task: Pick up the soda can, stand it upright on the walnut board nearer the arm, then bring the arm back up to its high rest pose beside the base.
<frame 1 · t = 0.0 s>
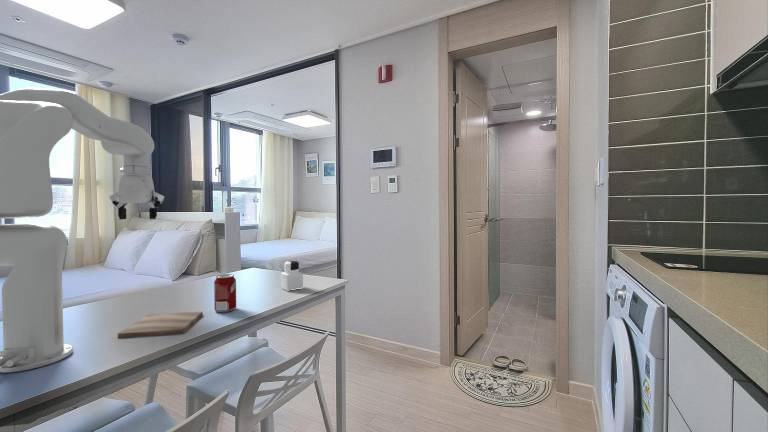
hand: (137, 219, 119), 31 cm above the table, tool pointing down, fingers open, 9 cm apart
walnut board: (164, 325, 98), on the table
medicine bottle: (291, 289, 142), on the table
soda can: (225, 310, 113), on the table
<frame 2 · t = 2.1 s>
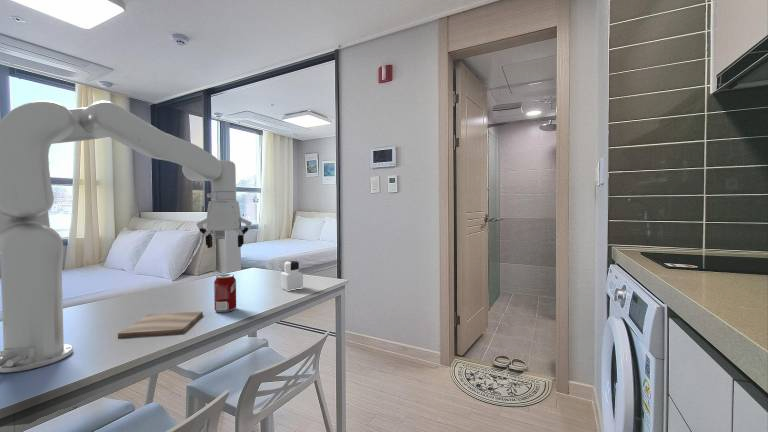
hand: (225, 247, 112), 22 cm above the table, tool pointing down, fingers open, 9 cm apart
nothing on the table moved.
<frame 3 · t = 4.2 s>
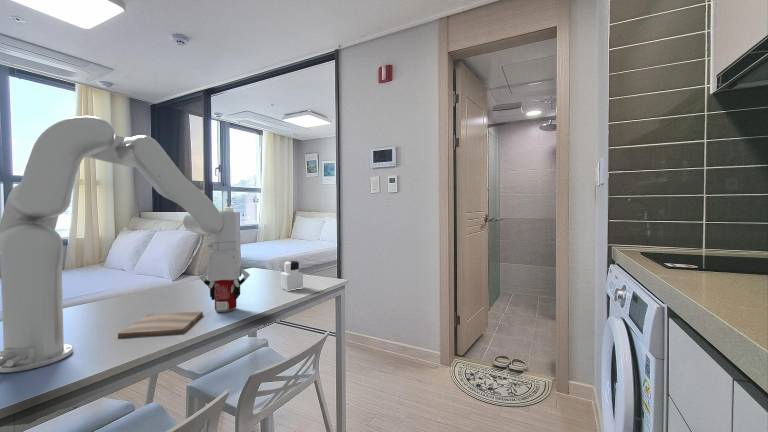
hand: (225, 297, 113), 4 cm above the table, tool pointing down, fingers closed on soda can, 6 cm apart
soda can: (225, 310, 113), on the table, touching gripper
everything else where it was.
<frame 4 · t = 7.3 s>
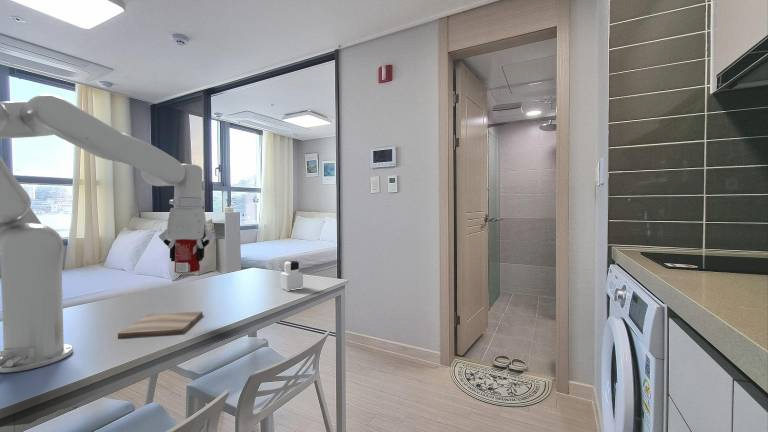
hand: (187, 260, 103), 19 cm above the table, tool pointing down, fingers closed on soda can, 6 cm apart
soda can: (187, 274, 103), point 14 cm above the table, touching gripper
everything else where it was.
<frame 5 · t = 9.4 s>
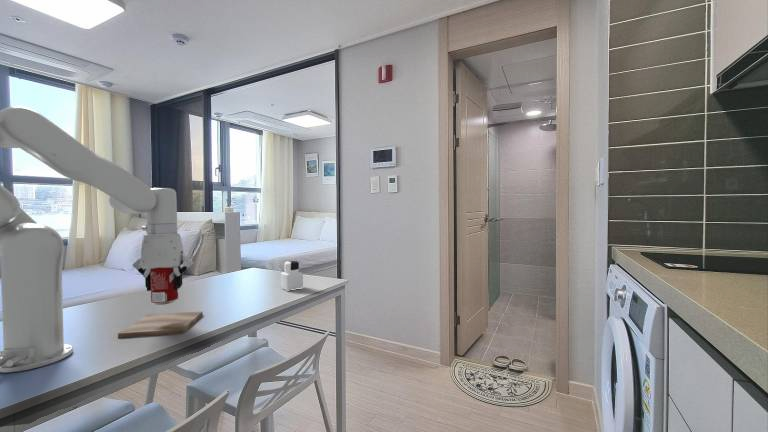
hand: (164, 288, 98), 11 cm above the table, tool pointing down, fingers closed on soda can, 6 cm apart
soda can: (165, 303, 98), point 7 cm above the table, touching gripper
everything else where it was.
when the fingers open (7 cm above the table, at t = 10.8 s): soda can drops 1 cm, resting on walnut board.
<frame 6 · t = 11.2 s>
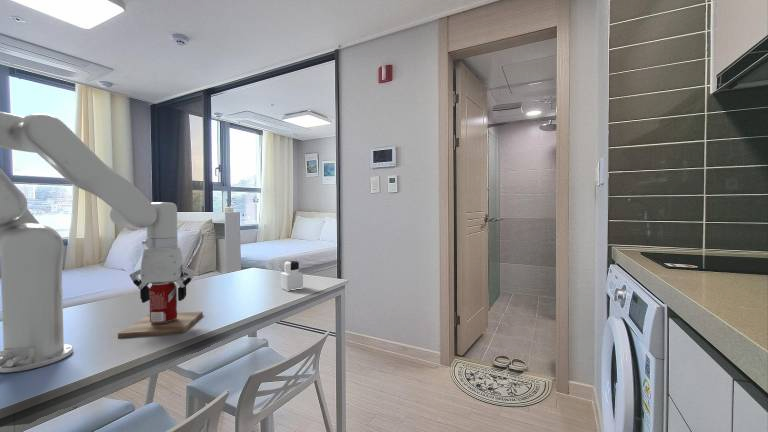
hand: (163, 300, 98), 7 cm above the table, tool pointing down, fingers open, 9 cm apart
soda can: (163, 322, 98), point 1 cm above the table, touching walnut board
everything else where it was.
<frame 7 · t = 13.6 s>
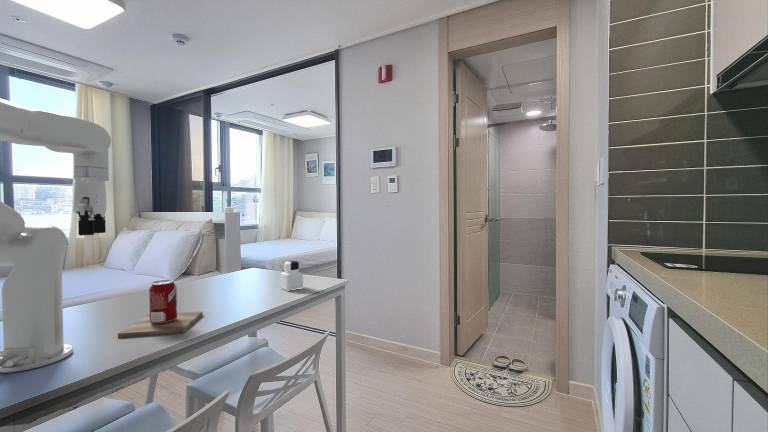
hand: (92, 234, 95), 28 cm above the table, tool pointing down, fingers open, 9 cm apart
nothing on the table moved.
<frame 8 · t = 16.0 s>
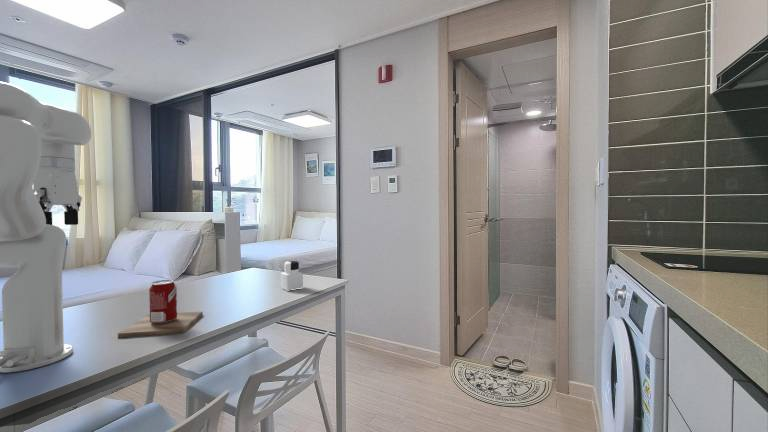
hand: (58, 225, 93), 30 cm above the table, tool pointing down, fingers open, 9 cm apart
nothing on the table moved.
at the end: soda can inside the target area on the walnut board (0.2 cm from its centre), point 1.0 cm above the walnut board's base; soda can tilted 0°; the gripper is holding nothing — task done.
